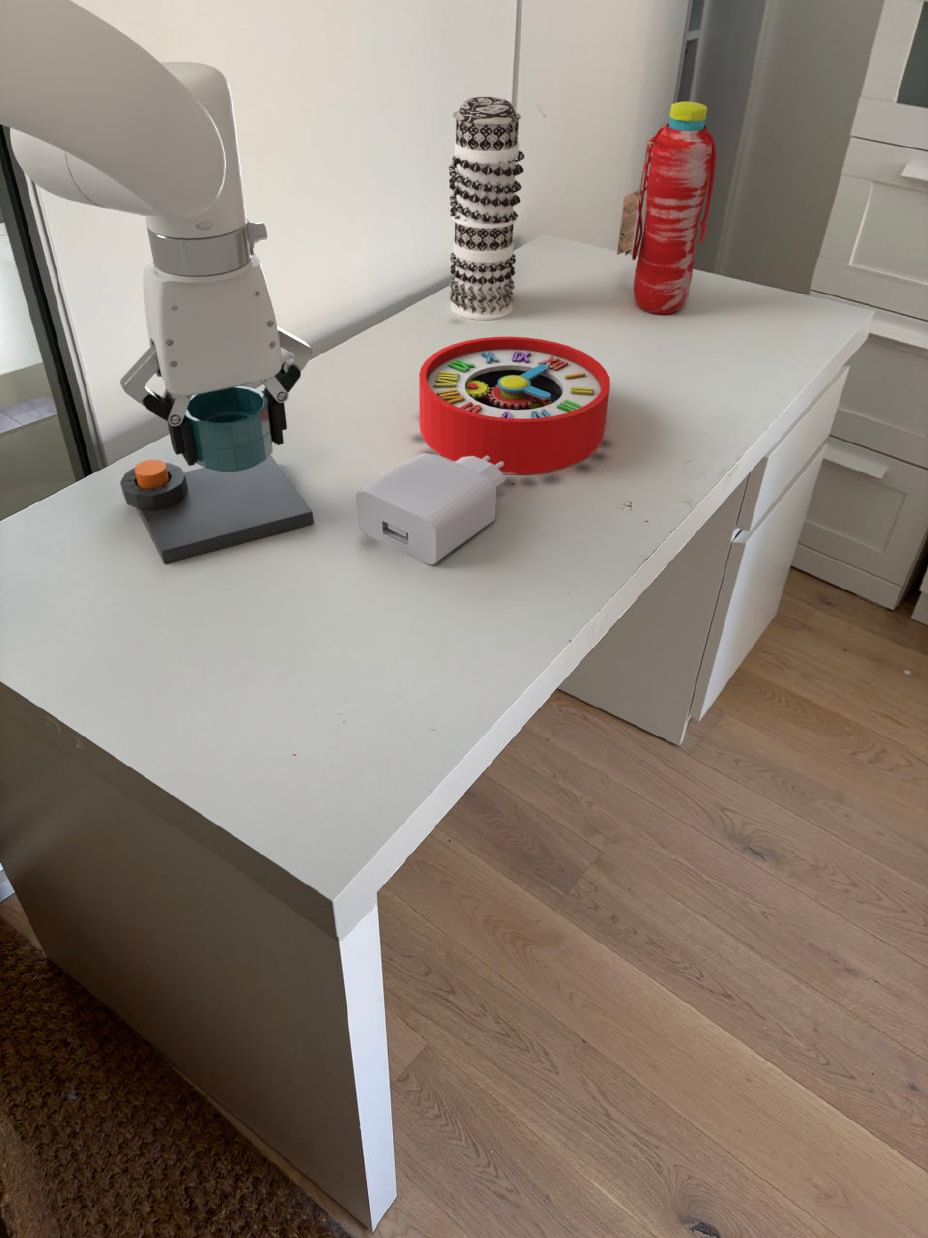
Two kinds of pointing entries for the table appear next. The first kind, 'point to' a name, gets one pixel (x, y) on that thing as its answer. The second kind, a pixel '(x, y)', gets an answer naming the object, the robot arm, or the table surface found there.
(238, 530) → the dark grey flat slab
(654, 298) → the water bottle
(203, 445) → the bowl
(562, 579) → the table surface
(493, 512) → the charger
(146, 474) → the button
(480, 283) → the decorative candle
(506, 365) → the toy clock
